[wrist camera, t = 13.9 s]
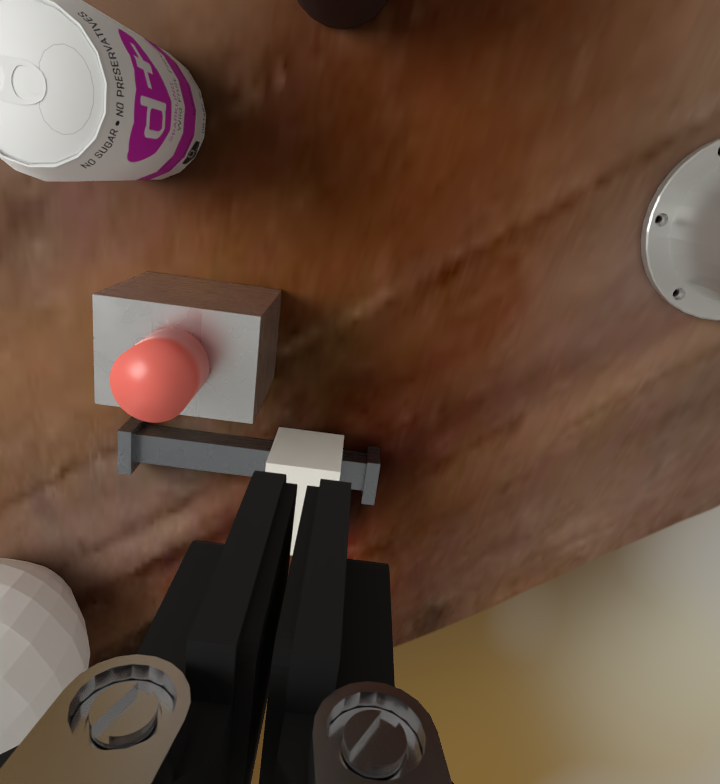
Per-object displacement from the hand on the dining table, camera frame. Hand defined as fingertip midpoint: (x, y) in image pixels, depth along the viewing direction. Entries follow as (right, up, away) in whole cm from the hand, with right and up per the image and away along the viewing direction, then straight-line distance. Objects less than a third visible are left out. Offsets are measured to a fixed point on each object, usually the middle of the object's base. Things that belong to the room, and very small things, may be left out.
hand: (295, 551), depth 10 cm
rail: (-7, -2, +38) cm, 39 cm away
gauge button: (-10, +6, +29) cm, 31 cm away
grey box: (-10, +8, +35) cm, 37 cm away
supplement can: (-13, +22, +30) cm, 39 cm away
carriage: (-3, -3, +38) cm, 39 cm away
